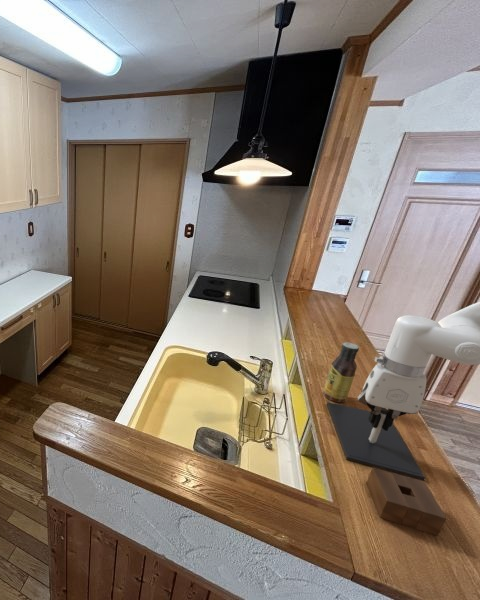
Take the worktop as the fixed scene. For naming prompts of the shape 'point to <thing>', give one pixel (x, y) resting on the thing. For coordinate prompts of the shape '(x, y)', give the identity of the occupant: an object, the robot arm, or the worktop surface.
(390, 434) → the plate
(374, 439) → the white thin cylinder
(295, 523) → the worktop surface
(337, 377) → the sauce bottle
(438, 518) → the pen stand
